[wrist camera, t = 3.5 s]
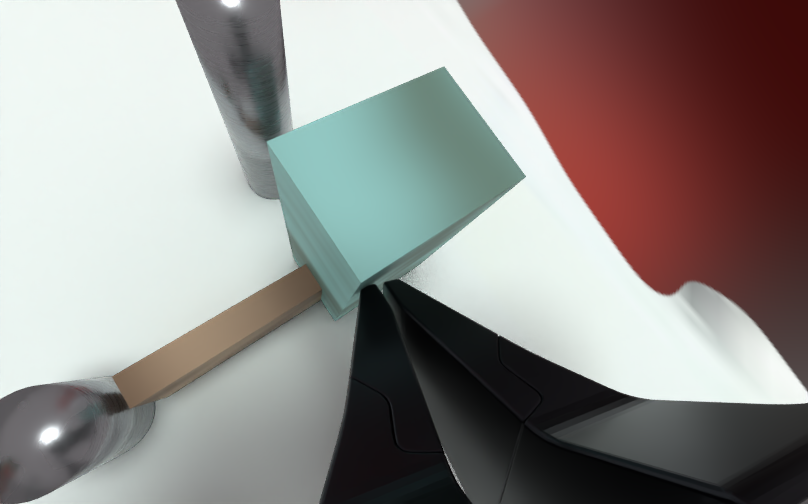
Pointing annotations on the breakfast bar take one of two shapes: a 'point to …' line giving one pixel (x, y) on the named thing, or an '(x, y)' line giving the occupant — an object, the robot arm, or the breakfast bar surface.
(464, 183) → the gate
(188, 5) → the post
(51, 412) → the hinge post
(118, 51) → the breakfast bar surface
